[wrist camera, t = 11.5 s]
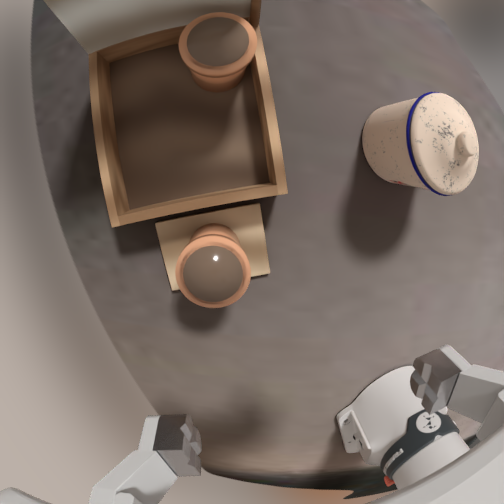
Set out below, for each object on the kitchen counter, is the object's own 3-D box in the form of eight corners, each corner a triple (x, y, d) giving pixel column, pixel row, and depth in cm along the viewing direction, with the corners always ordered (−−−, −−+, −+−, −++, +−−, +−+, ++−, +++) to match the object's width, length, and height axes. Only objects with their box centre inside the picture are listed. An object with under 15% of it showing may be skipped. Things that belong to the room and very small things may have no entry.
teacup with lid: (380, 199, 28) (455, 222, 17) (343, 122, 25) (414, 104, 14) (446, 156, 27) (518, 163, 16) (418, 87, 24) (489, 71, 13)
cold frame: (278, 189, 26) (403, 249, 8) (126, 218, 26) (-10, 319, 7) (245, 6, 20) (282, -135, 1) (103, 37, 19) (2, -58, 1)
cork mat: (269, 271, 29) (270, 273, 28) (173, 288, 28) (172, 290, 28) (259, 202, 27) (259, 203, 26) (156, 222, 26) (154, 223, 25)
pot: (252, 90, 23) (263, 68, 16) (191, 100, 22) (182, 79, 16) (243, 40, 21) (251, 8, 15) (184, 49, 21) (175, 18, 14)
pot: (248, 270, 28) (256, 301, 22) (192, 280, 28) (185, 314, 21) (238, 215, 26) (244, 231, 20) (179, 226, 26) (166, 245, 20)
